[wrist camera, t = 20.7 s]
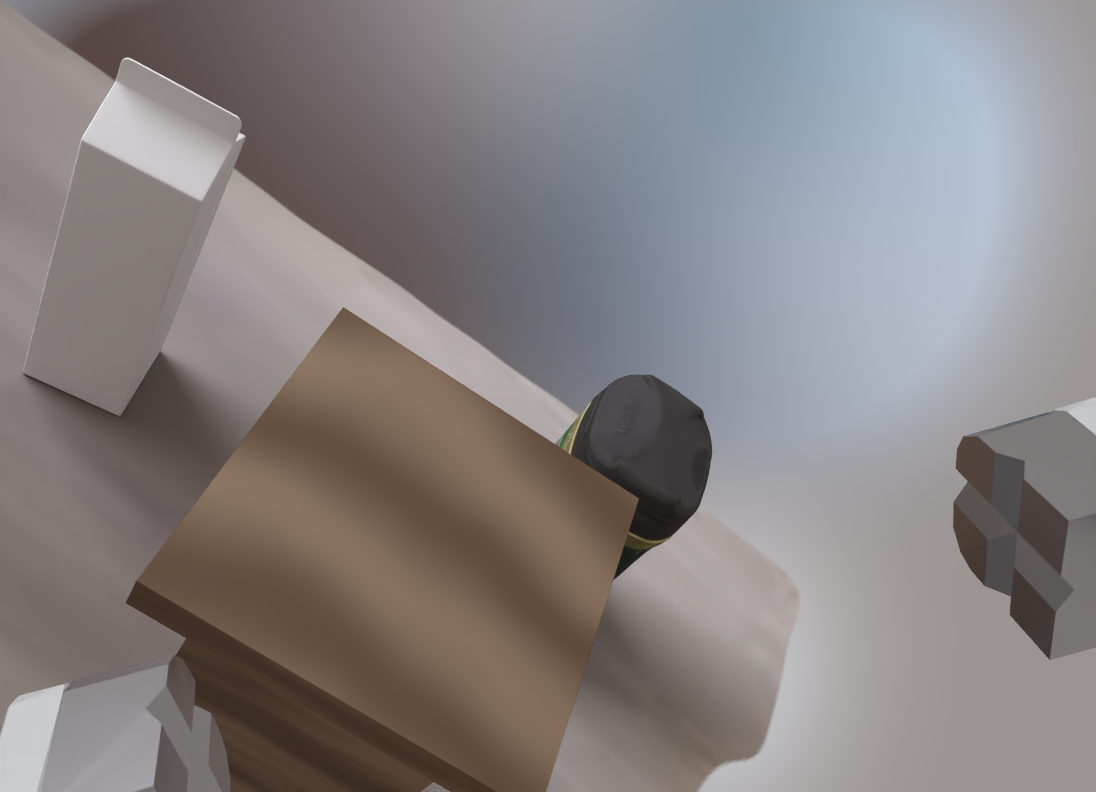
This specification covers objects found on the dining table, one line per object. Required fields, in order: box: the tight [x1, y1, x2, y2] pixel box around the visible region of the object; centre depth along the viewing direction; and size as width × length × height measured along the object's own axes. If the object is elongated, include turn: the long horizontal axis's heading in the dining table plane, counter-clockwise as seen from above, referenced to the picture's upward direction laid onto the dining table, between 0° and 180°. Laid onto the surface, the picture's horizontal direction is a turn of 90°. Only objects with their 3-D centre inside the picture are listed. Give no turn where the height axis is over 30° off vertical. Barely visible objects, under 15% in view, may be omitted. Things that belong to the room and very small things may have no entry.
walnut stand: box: [126, 307, 639, 792], centre depth 45 cm, size 14×14×26 cm
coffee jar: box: [555, 375, 712, 580], centre depth 64 cm, size 10×8×19 cm
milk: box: [23, 58, 245, 416], centre depth 56 cm, size 6×6×22 cm
